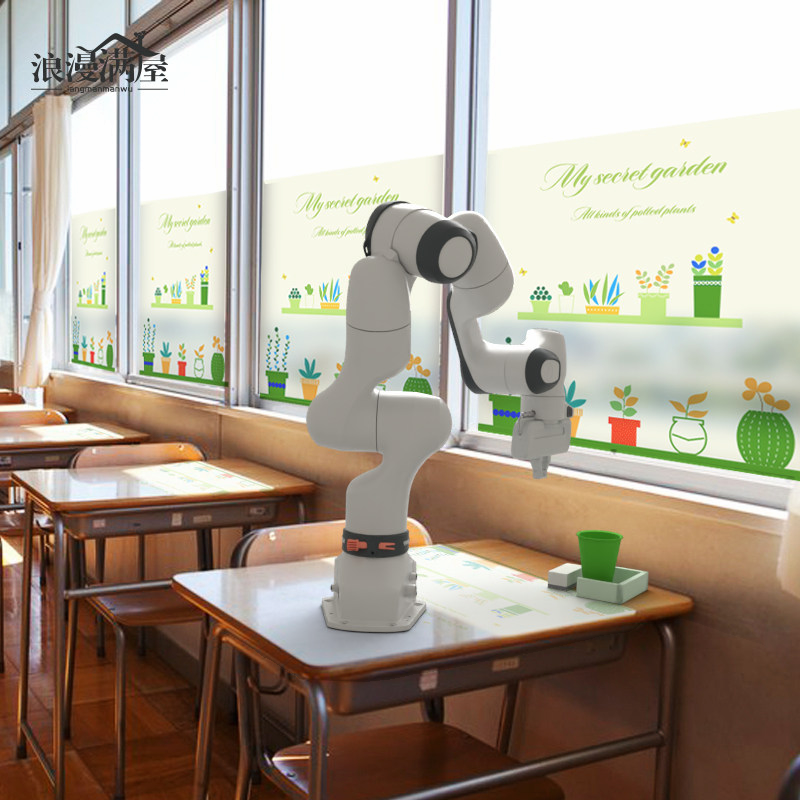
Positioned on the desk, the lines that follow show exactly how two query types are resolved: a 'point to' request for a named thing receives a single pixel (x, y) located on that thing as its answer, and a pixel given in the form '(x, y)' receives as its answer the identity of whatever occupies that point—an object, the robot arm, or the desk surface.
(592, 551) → the cup
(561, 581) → the eraser
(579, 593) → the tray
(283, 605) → the desk surface
